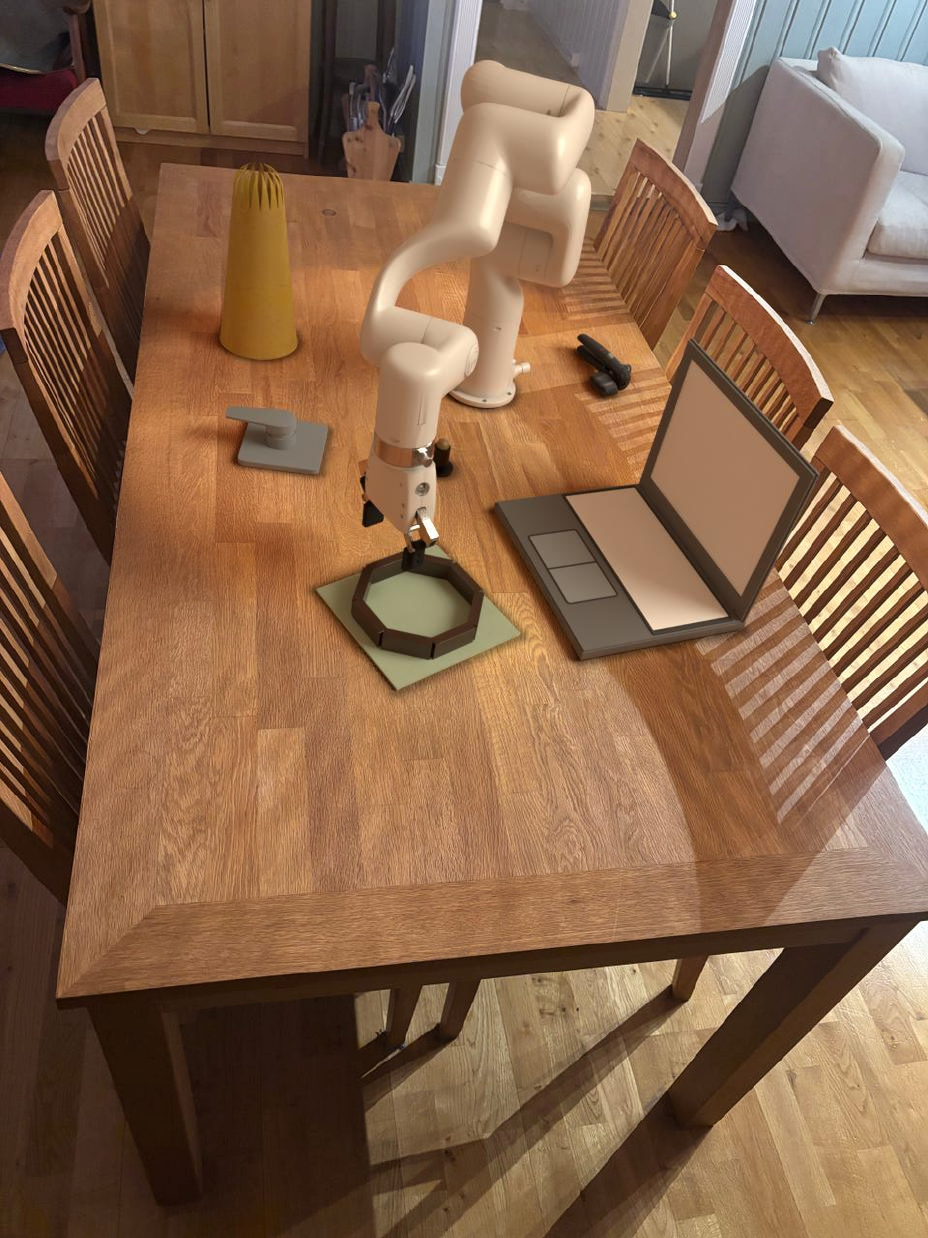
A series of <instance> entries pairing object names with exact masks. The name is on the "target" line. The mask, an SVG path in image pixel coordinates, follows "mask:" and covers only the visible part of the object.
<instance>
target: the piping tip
mask: <svg viewBox="0 0 928 1238" xmlns="http://www.w3.org/2000/svg"><path fill="white" fill-rule="evenodd" d="M251 164H252V165H251ZM255 164H256V162H253V163H252V162H249V163H247V164H244V165H242V166H241V167H239V169H238V170H237V171H236V173H235V175H234V177H233V182H232V183H233V184H232V194H231V195H232V196H231V206H230V207H231V208H230V220H229V233H228V234H229V235H228V242H227V243H228V245H227V258H226V267H225V268H226V270H225V282H224V291H223V293H224V294H223V303H222V304H223V305H222V317H221V327H220V331H219V342H220V343H221V345H222V346H223V347H224V348H225V349H226V350H227V351H229V352H230V353H232V354H234V355H236V356H239V357H242V358H245V359H251V360H259V361H268V360H275V359H280V358H283V357H286V356H288V355H290V354H292V353H294V352H295V350H296V349H297V347H298V344H299V338H298V335H297V328H296V319H295V308H294V296H293V284H292V283H293V282H292V274H291V262H290V251H289V238H288V227H287V226H288V225H287V216H286V214H287V213H286V203H285V192H284V185H283V180H282V177H281V175H280V174H279V172H278V171H277V170H276V169H274V168H273V167H272V166H270V165H268V164H266V163H264V166H266V169H267V172H265V170H264V166H263V164H262V163H261V162H259V168H258V171H256V168H255V167H256V165H255ZM249 165H251V166H250V169H248V167H249ZM248 171H249V175H248V176H247V173H248ZM265 174H266V175H265ZM240 175H241V176H240ZM266 176H267V184H266ZM274 180H275V181H274Z"/></svg>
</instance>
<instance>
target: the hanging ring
mask: <svg viewBox="0 0 928 1238" xmlns="http://www.w3.org/2000/svg"><path fill="white" fill-rule="evenodd" d="M402 556H403V550H402V551H399V552H396V553H394V554H391V555H388V556H386V557H383V558H380V559H378V560H374V561H372V562H369V563H367V564H365V566H362V569H361V572H360V573H361V575H360V578H359V581H358V583H357V586H356V589H355V592H354V595H353V598H352V607H351V613H352V617H353V618H354V620H355V621H356V622H357V623H358V624H359V626H360V627H361V628H362V629H363V630H364V632H365V633H366V634H367V635H368V637H369V638H370V639H371V640H372V641H373V643H374V644H375V645H376V646H377V647H380V646H381V650H386V651H390V652H395V653H400V654H404V655H409V656H413V657H418V658H423V659H427V660H429V659H430V656H431V658H432V659H433V660H434V659H436V658H438V657H440V656H443V655H445V654H447V653H449V652H452V651H454V650H456V649H458V648H461V647H463V646H465V645H468V644H470V643H472V642H473V640H475V636H476V632H477V628H478V623H479V618H480V613H481V608H482V604H483V599H484V595H485V592H484V589H483V587H481V586H480V585H479V584H478V583H477V582H476V580H474V578H473V577H471V575H469V573H468V572H467V571H466V570H465V569H464V568H463V567H462V566H461V565H460V564H459V562H457V561H455V562H454V559H451V558H450V559H446V558H442V557H437V556H432V555H428V554H425V555H424V561H423V564H422V565H421V566H419V567H417V568H414V569H411V570H409V571H407V572H411V573H416V574H421V575H425V576H430V577H435V578H439V579H444V580H447V581H448V582H449V583H450V584H451V585H452V586H453V587H454V588H455V589H456V590H457V591H458V593H459V594H460V595H461V596H462V597H463V598H464V599H465V600H466V601H467V602H468V603H469V604H470V605H471V609H470V614H469V619H468V622H467V623H464V624H462V625H460V626H457V627H455V628H453V629H450V630H448V631H446V632H443V633H441V634H439V635H436V636H434V637H432V638H431V637H427V636H422V635H417V634H413V633H408V632H404V631H399V630H394V629H390V628H387V627H386V626H385V625H384V624H383V623H382V621H381V620H380V619H379V618H378V617H377V615H376V614H375V613H374V612H373V611H372V610H371V608H370V607H369V606H368V605H367V604H366V599H367V596H368V593H369V590H370V587H371V585H372V584H375V583H377V582H380V581H383V580H385V579H388V578H390V577H393V576H396V575H398V574H401V573H404V572H403V570H402V569H401V564H402ZM453 562H454V563H453Z"/></svg>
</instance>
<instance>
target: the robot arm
mask: <svg viewBox="0 0 928 1238" xmlns="http://www.w3.org/2000/svg"><path fill="white" fill-rule="evenodd" d="M461 80H462V81H461V85H460V105H461V109H462V113H463V114H462V115H461V117H460V120H459V122H458V124H457V127H456V130H455V134H454V138H453V140H452V144H451V148H450V150H449V151H450V152H449V155H448V159H447V162H446V165H445V169H444V172H443V175H442V180H441V183H440V186H439V189H438V193H437V196H436V200H435V204H434V207H433V211H432V214H431V218H430V220H429V221H428V223H427V225H426V226H424V227H423V228H422V229H420V230H419V231H417V232H416V233H414V234H412V236H410V237H408V238H407V239H406V240H404V242H402V243H401V244H400V245H399V246H398V247H397V248H396V249H395V250H393V252H392V253H391V254H390V255H389V256H388V258H387V259H386V260H385V261H384V263H383V264H382V266H381V268H380V269H379V271H378V273H377V275H376V276H375V279H374V282H373V286H372V288H371V292H370V295H369V299H368V302H367V305H366V309H365V312H364V315H363V319H362V323H361V328H360V333H359V349H360V353H361V355H362V357H363V359H364V360H365V361H366V362H367V363H369V364H370V365H372V366H373V367H376V368H379V371H378V372H379V373H378V383H377V385H378V386H377V394H376V395H377V397H376V408H375V417H374V429H373V440H372V443H371V446H370V449H369V454H368V458H366V459H363V460H359V461H358V462H357V465H358V471H359V475H360V476H361V477H359V484H360V485H361V488H362V491H363V492H362V494H361V499H362V502H364V503H363V507H362V518H361V519H362V520H361V526H363V527H364V528H369V527H373V526H376V525H378V524H380V523H383V522H384V520H385V519H386V520H387V521H388V522H389V523H390V524H391V525H392V526H393V527H394V528H395V529H396V530H397V531H398V532H400V533H402V536H403V538H404V541H405V542H404V543H405V544H406V546H404V548H403V550H402V551H403V556H402V564H401V569H402V570H403V572H406V571H409V570H411V569H414V568H417V567H419V566H421V565H422V564H423V561H424V555H425V549H427V548H429V547H432V546H434V545H436V543H437V542H438V541H439V539H440V536H439V534H438V531H437V530H436V527H435V526H434V524H433V523H434V520H435V518H434V517H435V513H436V512H435V511H436V503H437V502H436V500H437V477H436V469H435V463H434V462H433V460H432V458H433V453H434V446H435V443H436V438H437V433H438V425H439V418H440V413H441V412H440V411H441V404H442V399H443V398H444V397H446V395H447V394H449V395H450V396H451V397H452V398H454V399H455V400H457V401H458V402H461V403H463V404H465V405H468V406H471V407H475V408H481V409H493V408H499V407H503V406H505V405H507V404H509V403H510V402H512V400H513V399H514V397H515V395H516V390H517V389H516V384H515V382H514V379H515V378H517V377H518V376H519V375H524V374H527V373H530V371H531V365H530V363H529V362H528V361H523V362H519V363H517V361H516V359H515V357H514V355H515V350H516V345H517V341H518V336H519V331H520V326H521V320H522V317H523V313H524V306H525V297H524V290H523V288H522V285H521V282H520V280H523V281H527V282H530V283H534V284H538V285H542V286H545V287H551V288H563V287H565V286H567V285H569V283H571V281H572V280H573V278H574V277H575V274H576V272H577V270H578V267H579V263H580V260H581V255H582V250H583V244H584V239H585V235H586V234H585V233H586V228H587V223H588V217H589V212H590V207H591V199H592V183H591V179H590V177H589V175H588V174H587V173H586V172H585V171H584V170H583V169H580V168H579V167H577V165H578V163H579V160H580V158H581V156H582V155H583V152H584V150H585V148H586V147H587V145H588V143H589V139H590V137H591V134H592V131H593V127H594V123H595V114H596V110H595V108H596V106H595V101H594V99H593V97H592V94H591V93H590V92H589V91H588V90H587V89H585V88H583V87H580V86H577V85H575V84H571V83H567V82H563V81H559V80H555V79H551V78H546V77H543V76H539V75H537V74H532V73H529V72H525V71H520V70H517V69H514V68H509V67H506V66H505V65H503V64H502V63H500V62H498V61H496V60H491V59H483V60H479V61H477V62H475V63H474V64H472V65H471V66H470V67H468V69H467V70H466V72H465V73H464V74H463V78H462V79H461ZM467 259H470V265H469V267H470V268H469V281H468V288H467V294H466V295H467V296H466V301H465V307H464V313H463V319H462V324H461V323H458V322H453V321H450V320H446V319H443V318H439V317H435V316H433V315H430V314H427V313H422V312H418V311H415V310H411V309H407V308H404V307H401V306H400V307H399V306H397V305H396V303H397V300H398V297H399V295H400V293H401V291H402V289H403V288H404V286H405V285H406V284H407V282H408V281H409V280H411V278H412V277H414V276H415V275H417V274H418V273H420V272H422V271H425V270H426V269H429V268H432V267H435V266H438V265H442V264H445V263H450V262H454V261H461V260H467ZM516 363H517V364H516ZM415 522H416V523H415ZM415 531H417V532H418V536H419V539H415V540H414V537H413V534H412V532H415Z"/></svg>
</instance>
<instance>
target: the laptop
mask: <svg viewBox="0 0 928 1238" xmlns="http://www.w3.org/2000/svg"><path fill="white" fill-rule="evenodd" d="M820 476H821V473H820V472H819V471H818V470H817V469H816V468H815V467H814V466H813V464H811V462H810V461H809V460H808V459H807V458H806V457H805V456H804V454H802V453H801V452H800V451H799V449H798V448H797V447H796V446H795V445H794V444H793V443H792V442H791V441H790V440H789V439H788V437H786V436H785V435H784V433H783V432H782V431H781V430H780V429H779V428H778V427H777V426H776V425H775V424H774V423H773V422H772V421H771V420H770V418H769V417H768V416H767V415H766V414H765V413H764V412H763V411H762V410H761V409H760V408H759V407H758V405H757V404H755V402H754V401H753V400H752V399H751V398H750V397H749V396H748V395H747V394H746V393H745V392H744V390H742V388H741V387H739V385H738V384H737V383H736V382H735V381H734V380H733V378H731V377H730V376H729V374H728V373H726V371H724V370H723V368H722V367H721V366H720V365H719V364H718V362H717V361H716V360H714V358H713V357H712V356H710V354H709V352H707V351H706V350H705V349H704V348H703V347H702V346H701V345H700V344H699V343H698V342H697V341H696V339H695V338H693V337H690V339H688V340H687V342H686V345H685V348H684V351H683V354H682V356H681V360H680V362H679V366H678V368H677V371H676V373H675V378H674V380H673V383H672V386H671V388H670V392H669V395H668V397H667V401H666V404H665V406H664V409H663V412H662V415H661V418H660V420H659V424H658V426H657V428H656V432H655V435H654V438H653V441H652V444H651V447H650V450H649V452H648V455H647V458H646V461H645V464H644V467H643V470H642V472H641V475H640V479H639V481H638V483H632V484H625V485H617V486H607V487H602V488H600V487H599V488H593V489H584V490H577V491H570V492H569V491H568V492H561V493H553V494H546V495H545V494H544V495H537V496H529V497H521V498H514V499H513V498H512V499H504V500H497V501H495V502H494V505H493V510H494V512H495V514H496V515H497V517H498V520H499V521H500V522H501V524H502V526H503V528H504V529H505V531H506V533H507V534H508V536H509V538H510V540H511V542H512V543H513V545H514V547H515V548H516V550H517V552H518V554H519V556H520V557H521V559H522V560H523V562H524V564H525V566H526V568H527V569H528V571H529V573H530V574H531V576H532V578H533V580H534V582H535V584H536V586H538V589H539V590H540V592H541V594H542V596H543V597H544V599H545V600H546V602H547V604H548V606H549V607H550V609H551V611H552V613H553V615H554V617H555V618H556V620H557V621H558V623H559V625H560V627H561V629H562V630H563V632H564V634H565V636H566V637H567V639H568V641H569V642H570V644H571V646H572V648H573V649H574V651H575V653H576V654H577V656H578V658H579V660H580V661H584V660H590V659H594V658H600V657H605V656H610V655H616V654H620V653H625V652H630V651H635V650H641V649H647V648H652V647H657V646H662V645H667V644H672V643H678V642H682V641H687V640H692V639H698V638H702V637H708V636H713V635H718V634H719V635H720V634H724V633H729V632H734V631H739V630H743V629H744V628H745V625H746V624H747V622H746V621H747V619H748V618H749V616H750V614H751V612H752V610H753V608H754V606H755V604H756V602H757V600H758V598H759V596H760V594H761V592H762V591H763V588H764V586H765V584H766V582H767V580H768V578H769V577H770V574H771V572H772V570H773V569H774V567H775V565H776V563H777V560H778V559H779V557H780V555H781V553H782V551H783V549H784V547H785V545H786V543H787V541H788V539H789V537H790V535H791V533H792V531H793V529H794V527H795V525H796V523H797V521H798V519H799V517H800V516H801V513H802V511H803V509H804V508H805V506H806V504H807V502H808V500H809V498H810V496H811V494H812V492H813V489H814V488H815V486H816V484H817V482H818V480H819V478H820Z"/></svg>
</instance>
